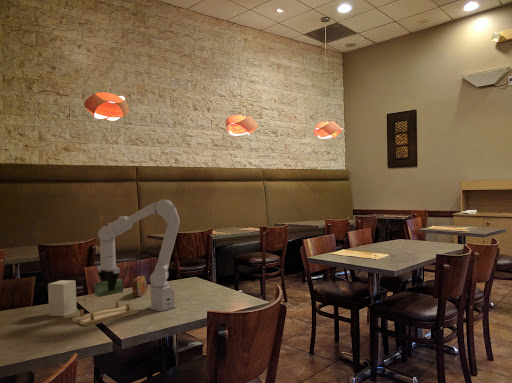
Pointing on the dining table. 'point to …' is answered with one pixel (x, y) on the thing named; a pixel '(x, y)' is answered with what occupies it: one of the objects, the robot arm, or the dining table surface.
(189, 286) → the dining table surface
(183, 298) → the dining table surface
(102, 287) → the board block
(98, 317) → the base plate
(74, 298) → the supplement box
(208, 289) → the dining table surface
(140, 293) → the tin
